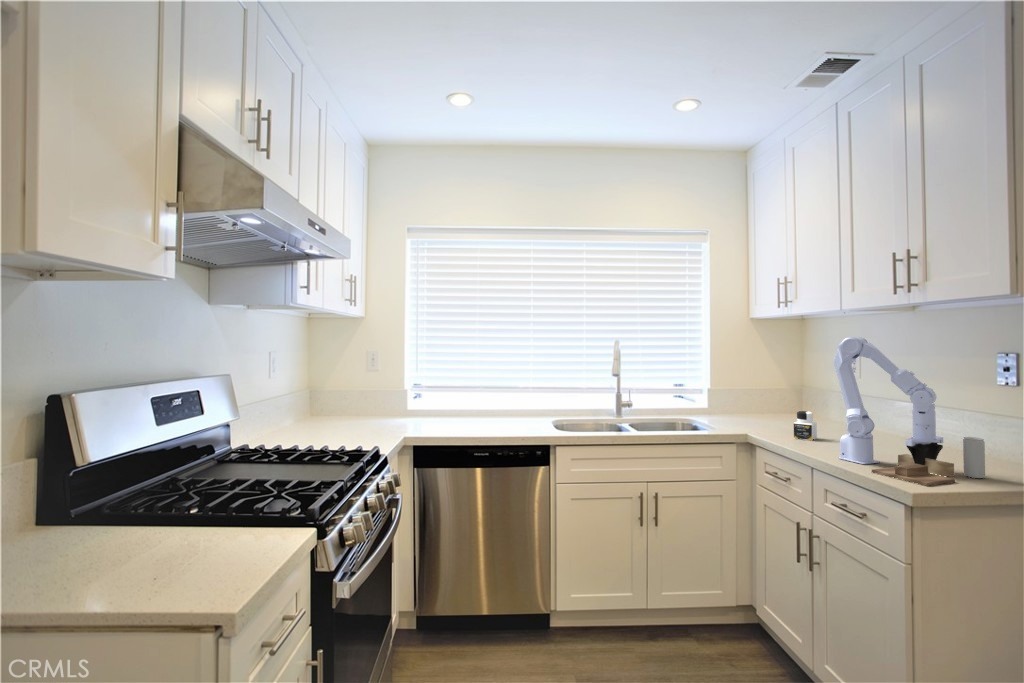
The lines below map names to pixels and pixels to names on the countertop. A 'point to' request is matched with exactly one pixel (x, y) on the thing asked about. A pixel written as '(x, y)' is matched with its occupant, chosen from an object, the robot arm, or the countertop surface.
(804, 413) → the medicine bottle
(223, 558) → the countertop surface
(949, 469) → the beam
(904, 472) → the fulcrum
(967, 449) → the beverage can
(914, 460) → the robot arm
